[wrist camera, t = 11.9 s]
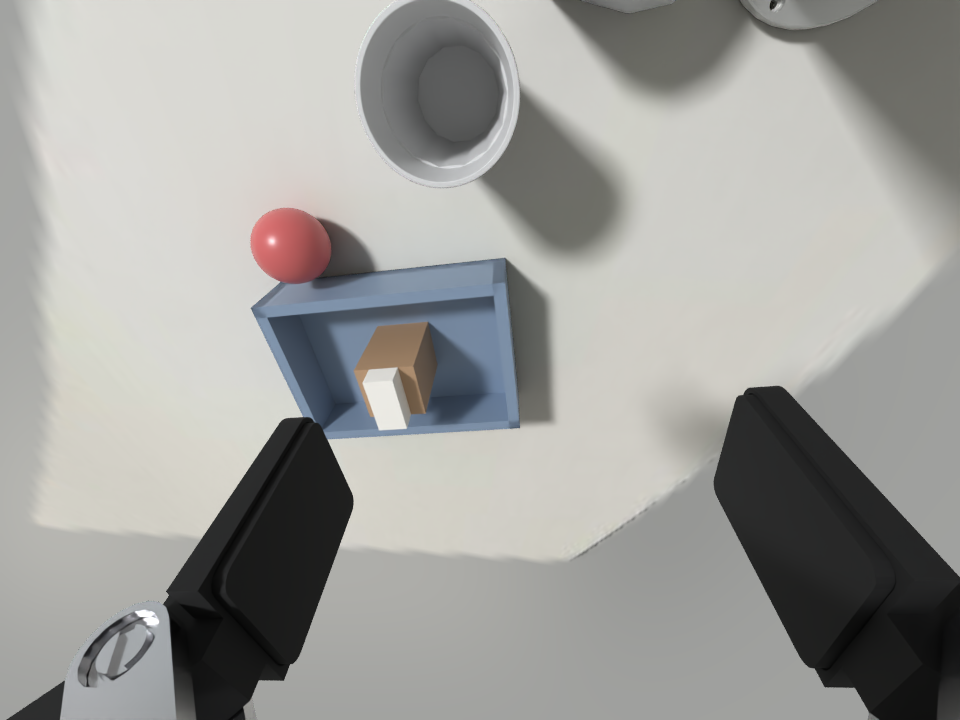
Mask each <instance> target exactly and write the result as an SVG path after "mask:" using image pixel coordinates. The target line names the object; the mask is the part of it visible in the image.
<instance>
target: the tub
mask: <svg viewBox="0 0 960 720" xmlns="http://www.w3.org/2000/svg"><path fill="white" fill-rule="evenodd" d="M251 309H252V312H253V314H254V316H255V318H256V320H257V322H258V324H259V326H260V328H261V330H262V332H263V334H264V336H265V338H266V341H267V343H268V345H269V347H270V349H271V351H272V353H273V355H274V357H275V359H276V361H277V363H278V365H279V367H280V370H281V372H282V374H283V376H284V378H285V380H286V382H287V384H288V386H289V388H290V390H291V392H292V394H293V396H294V399H295V401H296V403H297V405H298V407H299V409H300V411H301V413H302V415H303V417H310V418H312V419H313V421H314V422H315V423H319V424H320V425H321V427H322V429H323V431H324V434H325V436H326V438H327V439H342V438H359V437H376V436H393V435H410V434H426V433H443V432H460V431H477V430H494V429H511V428H520V419H519V395H518V384H517V373H516V363H515V353H514V343H513V333H512V323H511V312H510V302H509V292H508V282H507V272H506V261H505V258H500V259H491V260H481V261H472V262H463V263H453V264H444V265H435V266H425V267H416V268H407V269H397V270H388V271H379V272H369V273H360V274H351V275H341V276H332V277H323V278H316V279H314V280H312V281H310V282H307V283H302V284H288V283H284V282H280V283H279V284H278V285H277V286H276V287H275V288H273V289H272V290H271V291H270V292H269V293H268V294H267V295H265V296H264V297H263V298H262V299H261V300H260V301H258V302H257V303H256V304H255V305H254V306H253V307H251ZM419 322H428V324H429V328H430V333H431V337H432V342H433V346H434V351H435V355H436V360H437V364H438V365H437V369H436V373H435V378H434V382H433V386H432V390H431V394H430V398H429V402H428V406H427V410H426V414H411V416H410V420H409V423H408V427H407V429H395V430H379V428H378V426H377V423H376V420H375V417H370V415H369V412H368V409H367V407H366V404H365V401H364V398H363V396H362V393H361V390H360V387H359V384H358V382H357V379H356V376H355V373H354V369H355V367H356V365H357V363H358V362H359V360H360V358H361V356H362V354H363V352H364V350H365V349H366V347H367V345H368V343H369V341H370V339H371V337H372V336H373V334H374V332H375V330H376V328H377V326H385V325H396V324H408V323H419Z"/></svg>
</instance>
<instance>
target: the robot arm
mask: <svg viewBox="0 0 960 720" xmlns="http://www.w3.org/2000/svg"><path fill="white" fill-rule="evenodd" d="M740 1H741V3H742V4H743V6H744V7H745V8H746V9H747V10H748V11H749V12H750V13H751V14H753V15H754V16H755V17H756V18H757V19H759V20H761V21H763V22H765V23H767V24H769V25H771V26H773V27H778V28H783V29H788V30H798V29H811V28H816V27H820V26H826V25H829V24H832V23H835V22H838V21H840V20H843V19H846V18H849V17H851V16H853V15H854V14H856V13H858V12H860V11H862V10H863V9H865V8H867V7H869V6H871V5H872V4H874V3H875V2H876V1H878V0H772V1H773V7H772V9H771V10H770V2H771V0H740ZM714 490H715V493H716V495H717V498H718V500H719V502H720V504H721V506H722V507H723V509H724V511H725V513H726V515H727V517H728V519H729V521H730V523H731V525H732V527H733V529H734V531H735V532H736V535H737V536H738V538H739V540H740V542H741V544H742V546H743V548H744V550H745V552H746V554H747V556H748V558H749V560H750V562H751V564H752V566H753V567H754V569H755V571H756V573H757V575H758V577H759V579H760V581H761V583H762V585H763V587H764V589H765V591H766V592H767V595H768V596H769V598H770V600H771V602H772V604H773V606H774V608H775V610H776V612H777V614H778V616H779V618H780V620H781V622H782V624H783V625H784V627H785V629H786V631H787V633H788V635H789V637H790V639H791V641H792V643H793V645H794V647H795V649H796V651H797V652H798V654H799V656H800V658H801V659H802V661H803V662H804V663H805V664H806V665H807V666H808V667H810V668H815V670H816V671H817V674H818V675H819V677H820V679H821V681H822V683H823V685H824V687H845V688H847V687H849V688H853V687H854V688H855V689H856V690H857V692H858V694H859V695H860V697H861V699H862V701H863V702H864V704H865V706H866V707H867V709H868V711H869V716H868V720H960V577H959V576H958V575H957V574H956V573H955V572H954V571H953V569H951V567H950V566H949V565H948V564H947V563H946V562H945V561H944V560H943V559H942V558H941V557H940V555H938V553H937V552H936V551H935V550H934V549H933V548H932V547H931V546H930V545H929V544H928V543H927V542H926V540H925V539H924V538H923V537H922V536H921V535H920V534H919V533H918V532H917V531H916V530H915V529H914V527H913V526H912V525H911V524H910V523H909V522H908V521H907V520H906V519H905V518H904V517H903V516H902V515H901V514H900V512H899V511H898V510H897V509H896V508H895V507H894V506H893V505H892V504H891V503H890V502H889V501H888V499H887V498H886V497H885V496H884V495H883V494H882V493H881V492H880V491H879V490H878V489H877V488H876V487H875V486H874V484H873V483H872V482H871V481H870V480H869V479H868V478H867V477H866V476H865V475H864V474H863V473H862V472H861V470H860V469H859V468H858V467H857V466H856V465H855V464H854V463H853V462H852V461H851V460H850V459H849V457H847V455H846V454H845V453H844V452H843V451H842V450H841V449H840V448H839V447H838V446H837V445H836V444H835V442H834V441H833V440H832V439H831V438H830V437H829V436H828V435H827V434H826V433H825V432H824V431H823V429H822V428H821V427H820V426H819V425H818V424H817V423H816V422H815V421H814V420H813V419H812V418H811V417H810V415H808V413H807V412H806V411H805V410H804V409H803V408H802V407H801V406H800V405H799V404H798V403H797V401H796V400H795V399H794V398H793V397H792V396H791V395H790V394H789V393H788V392H787V391H786V390H785V389H784V388H783V387H780V386H769V387H754V388H748V389H747V390H746V391H745V392H744V395H740V396H738V397H737V398H736V401H735V404H734V408H733V411H732V415H731V419H730V422H729V426H728V430H727V433H726V437H725V441H724V444H723V448H722V452H721V455H720V459H719V463H718V466H717V470H716V474H715V477H714ZM352 509H353V495H352V492H351V490H350V488H349V486H348V484H347V482H346V479H345V477H344V475H343V473H342V471H341V468H340V466H339V464H338V462H337V460H336V458H335V455H334V453H333V451H332V449H331V447H330V444H329V442H328V440H327V438H326V436H325V434H324V431H323V429H322V427H321V425H320V424H319V423H315V422H314V421H313V419H312V418H310V417H300V418H286V419H284V420H282V421H281V422H280V423H279V425H278V426H277V428H276V429H275V431H274V432H273V434H272V435H271V437H270V438H269V440H268V441H267V443H266V444H265V446H264V447H263V449H262V450H261V452H260V453H259V455H258V456H257V458H256V459H255V461H254V462H253V464H252V465H251V466H250V468H249V469H248V471H247V472H246V474H245V475H244V477H243V478H242V480H241V481H240V483H239V484H238V486H237V487H236V489H235V490H234V492H233V493H232V495H231V496H230V498H229V499H228V501H227V502H226V504H225V505H224V506H223V508H222V509H221V511H220V512H219V514H218V515H217V517H216V518H215V520H214V521H213V523H212V524H211V526H210V527H209V529H208V530H207V532H206V533H205V535H204V536H203V538H202V539H201V541H200V542H199V544H198V545H197V547H196V548H195V549H194V551H193V553H192V554H191V555H190V557H189V558H188V560H187V561H186V563H185V564H184V566H183V568H182V569H181V570H180V572H179V573H178V575H177V576H176V578H175V579H174V581H173V582H172V584H171V585H170V587H169V588H168V589H167V591H166V592H167V593H168V594H169V596H168V598H167V599H166V601H165V602H164V604H161V603H160V602H155V601H146V602H142V603H137V604H134V605H132V606H130V607H128V608H126V609H124V610H122V611H120V612H118V613H117V614H116V615H114V616H113V617H111V618H110V619H108V620H107V621H106V622H104V623H103V624H102V625H101V626H100V627H99V628H98V629H97V630H96V631H95V632H94V633H92V634H91V635H90V637H89V638H88V639H87V640H86V642H85V643H84V644H83V645H82V646H81V647H80V649H79V650H78V652H77V654H76V655H75V657H74V659H73V660H72V662H71V664H70V666H69V669H68V672H67V676H66V679H65V681H63V682H62V683H60V684H59V685H58V686H56V687H55V688H53V689H51V690H50V691H49V692H47V693H46V694H44V695H43V696H41V697H40V698H38V699H37V700H35V701H34V702H32V703H31V704H29V705H28V706H26V707H25V708H23V709H22V710H20V711H19V712H17V713H16V714H14V715H13V716H12V717H10V718H9V719H7V720H257V719H256V714H255V710H254V705H253V700H252V695H253V693H254V690H255V688H256V685H257V683H258V681H259V680H280V681H284V679H285V676H286V674H287V671H288V668H289V665H290V664H293V663H294V662H295V661H296V660H297V659H298V657H299V655H300V652H301V650H302V647H303V644H304V642H305V639H306V636H307V633H308V631H309V628H310V625H311V622H312V620H313V617H314V614H315V612H316V609H317V606H318V603H319V600H320V598H321V595H322V592H323V590H324V587H325V584H326V581H327V578H328V576H329V573H330V570H331V568H332V565H333V562H334V559H335V556H336V554H337V551H338V548H339V546H340V543H341V540H342V537H343V534H344V532H345V529H346V526H347V523H348V521H349V518H350V515H351V512H352Z"/></svg>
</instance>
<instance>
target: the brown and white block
mask: <svg viewBox="0 0 960 720" xmlns="http://www.w3.org/2000/svg"><path fill="white" fill-rule="evenodd" d="M437 365H438V364H437V360H436V355H435V351H434V346H433V342H432V337H431V333H430V328H429V324H428V322H419V323H408V324H396V325H385V326H377V328H376V330H375V332H374V334H373V336H372V337H371V339H370V341H369V343H368V345H367V347H366V349H365V350H364V352H363V354H362V356H361V358H360V360H359V362H358V363H357V365H356V367H355V369H354V373H355V376H356V379H357V382H358V384H359V387H360V390H361V393H362V396H363V398H364V401H365V404H366V407H367V409H368V412H369V415H370V417H375V420H376V423H377V426H378V428H379V430H395V429H407V427H408V423H409V420H410V416H411V414H426V410H427V406H428V402H429V398H430V394H431V390H432V386H433V382H434V378H435V373H436V369H437Z"/></svg>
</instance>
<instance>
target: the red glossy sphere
mask: <svg viewBox="0 0 960 720" xmlns="http://www.w3.org/2000/svg"><path fill="white" fill-rule="evenodd" d="M251 250H252V254H253V256H254V259H255V260H256V262H257V264H258V265H259V266H260V268H261V269H262V270H263V271H264V272H265V273H266V274H268V275H269V276H270V277H272V278H274V279H276V280H278V281H281V282H284V283H288V284H302V283H307V282H310V281H312V280H314V279H316V278H317V277H319V276H320V275H321V274H322V273H323V272H324V271H325V269H326V268H327V266H328V264H329V261H330V258H331V242H330V239H329V236H328V234H327V232H326V230H325V229H324V227H323V226H322V225H321V223H320V222H319V221H318V220H317V219H315V218H314V217H313V216H311V215H310V214H308V213H306V212H304V211H301V210H298V209H293V208H279V209H275V210H272V211H270V212H268V213H266V214H265V215H263V216H262V217H261V218H260V219H259V220H258V221H257V223H256V224H255V226H254V228H253V230H252V233H251Z"/></svg>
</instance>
